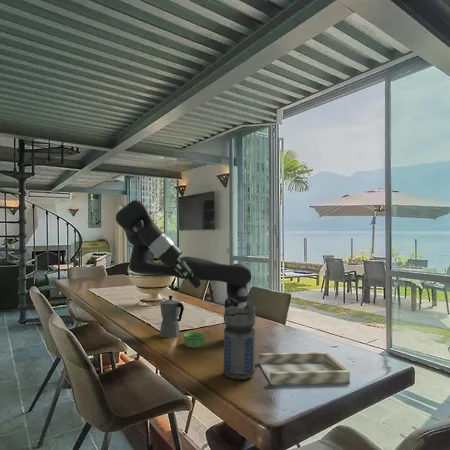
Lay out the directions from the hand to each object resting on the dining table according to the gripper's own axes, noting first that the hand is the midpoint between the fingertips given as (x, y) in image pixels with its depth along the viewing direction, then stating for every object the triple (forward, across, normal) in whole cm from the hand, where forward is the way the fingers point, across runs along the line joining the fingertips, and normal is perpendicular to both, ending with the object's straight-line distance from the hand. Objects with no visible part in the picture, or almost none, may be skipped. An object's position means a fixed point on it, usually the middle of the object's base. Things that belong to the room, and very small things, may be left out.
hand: (198, 284), depth 119 cm
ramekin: (+20, -27, -21) cm, 39 cm away
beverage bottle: (+30, +5, -11) cm, 32 cm away
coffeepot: (+13, -40, -28) cm, 51 cm away
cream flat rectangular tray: (+45, +5, +5) cm, 45 cm away
